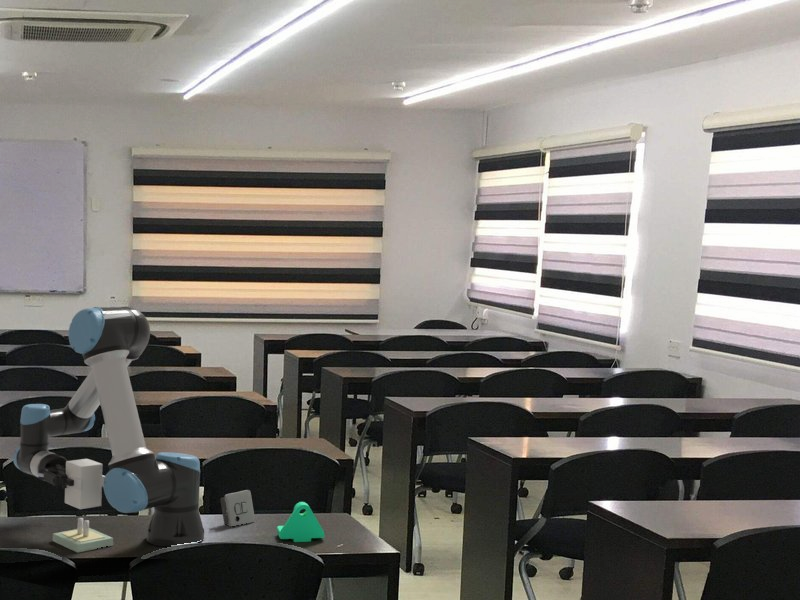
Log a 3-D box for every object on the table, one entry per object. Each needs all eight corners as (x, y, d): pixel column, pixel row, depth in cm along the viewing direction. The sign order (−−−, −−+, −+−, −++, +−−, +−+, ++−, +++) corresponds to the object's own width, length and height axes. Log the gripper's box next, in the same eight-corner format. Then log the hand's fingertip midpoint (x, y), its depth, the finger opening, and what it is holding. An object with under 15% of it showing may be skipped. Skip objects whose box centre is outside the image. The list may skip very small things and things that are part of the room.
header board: (52, 541, 262) (53, 517, 262) (87, 534, 269) (88, 511, 269) (77, 552, 253) (78, 528, 253) (112, 545, 260) (113, 522, 260)
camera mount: (319, 533, 280) (320, 497, 280) (324, 541, 273) (325, 504, 272) (276, 535, 277) (277, 498, 277) (280, 543, 270) (281, 505, 269)
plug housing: (64, 502, 261) (66, 461, 261) (85, 499, 266) (87, 458, 265) (79, 509, 256) (81, 466, 255) (101, 505, 260) (102, 464, 260)
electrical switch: (231, 528, 281) (230, 495, 281) (218, 526, 284) (217, 493, 285) (255, 522, 288) (254, 490, 289) (243, 520, 292) (242, 488, 292)
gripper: (81, 476, 280) (126, 492, 264) (16, 485, 266) (58, 503, 250) (82, 449, 280) (127, 464, 264) (17, 457, 266) (59, 473, 250)
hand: (93, 483), depth 257 cm, fingers closed on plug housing, 6 cm apart
